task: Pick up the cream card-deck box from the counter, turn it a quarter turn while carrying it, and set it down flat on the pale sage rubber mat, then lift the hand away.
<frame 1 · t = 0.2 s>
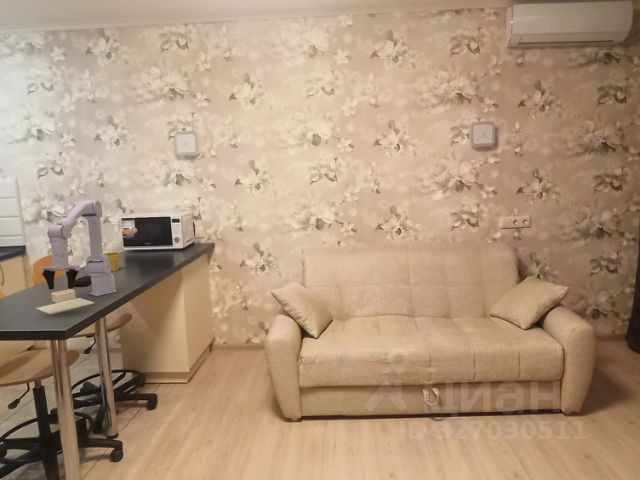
hand: (61, 289, 185), 10 cm above the table, tool pointing down, fingers open, 7 cm apart
plant pot: (112, 270, 268), on the table
mat: (65, 306, 198), on the table
card deck box: (64, 300, 208), on the table
carrying case or bag: (84, 284, 239), on the table
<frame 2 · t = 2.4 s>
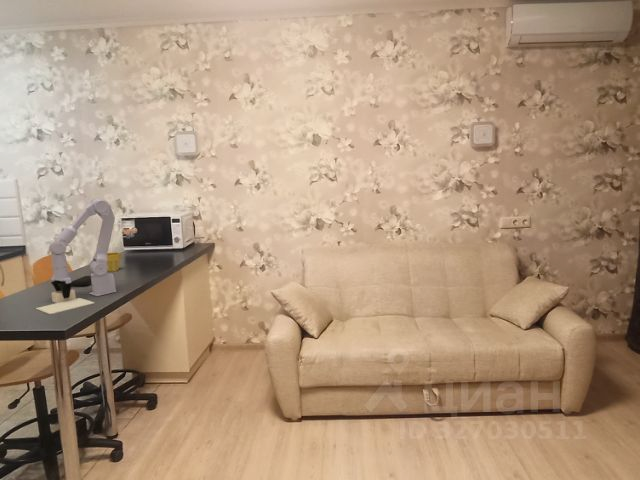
hand: (63, 297, 208), 1 cm above the table, tool pointing down, fingers closed on card deck box, 5 cm apart
card deck box: (64, 300, 208), on the table, touching gripper
everything else where it was.
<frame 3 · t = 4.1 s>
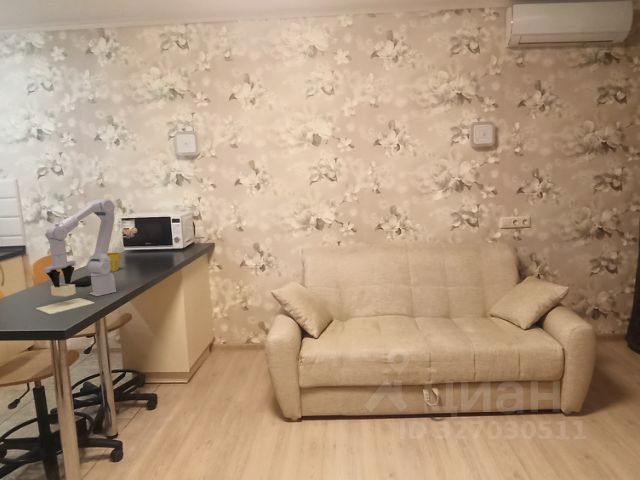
hand: (62, 285, 200), 8 cm above the table, tool pointing down, fingers closed on card deck box, 5 cm apart
card deck box: (63, 294, 200), point 5 cm above the table, touching gripper
everything else where it was.
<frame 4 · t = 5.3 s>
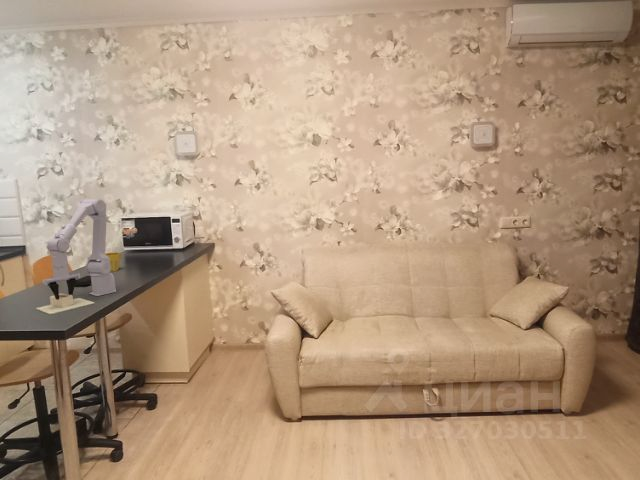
hand: (64, 297, 198), 4 cm above the table, tool pointing down, fingers closed on card deck box, 5 cm apart
card deck box: (62, 304, 199), point 1 cm above the table, touching gripper, mat
everything else where it was.
when the fingers open (4 cm above the table, at t = 5.9 s): card deck box moves 1 cm and tips over, resting on mat.
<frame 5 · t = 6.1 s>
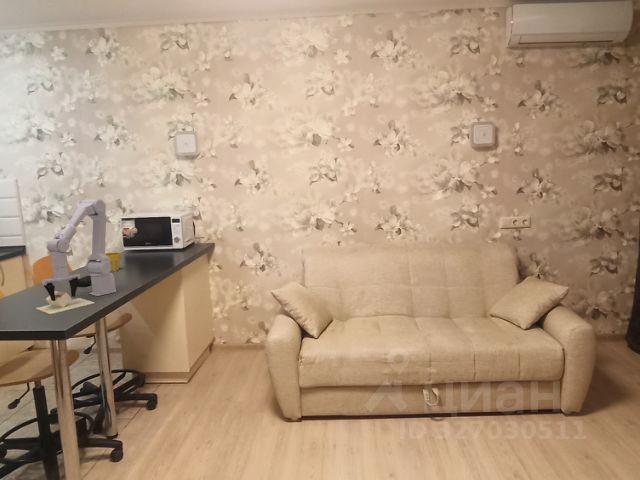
hand: (63, 298, 197), 4 cm above the table, tool pointing down, fingers open, 7 cm apart
card deck box: (61, 302, 198), point 2 cm above the table, tilted 31°, touching gripper, mat
everything else where it was.
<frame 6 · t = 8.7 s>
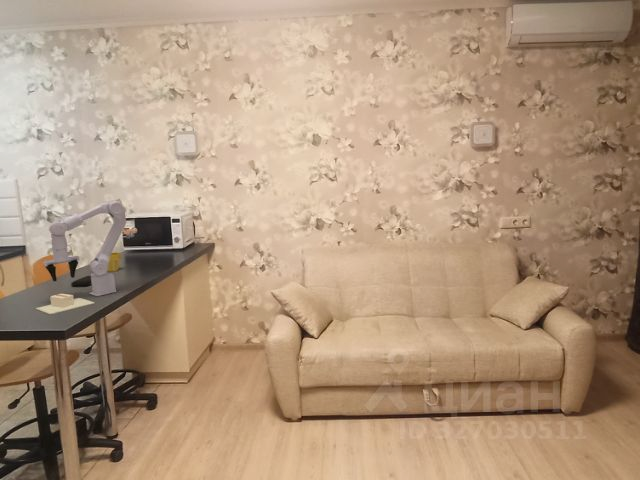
hand: (63, 279, 208), 9 cm above the table, tool pointing down, fingers open, 7 cm apart
card deck box: (62, 304, 199), resting on mat
at the end: card deck box inside the target area on the mat (1.7 cm from its centre), point 0.4 cm above the mat's base; card deck box tilted 0°; the gripper is holding nothing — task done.
